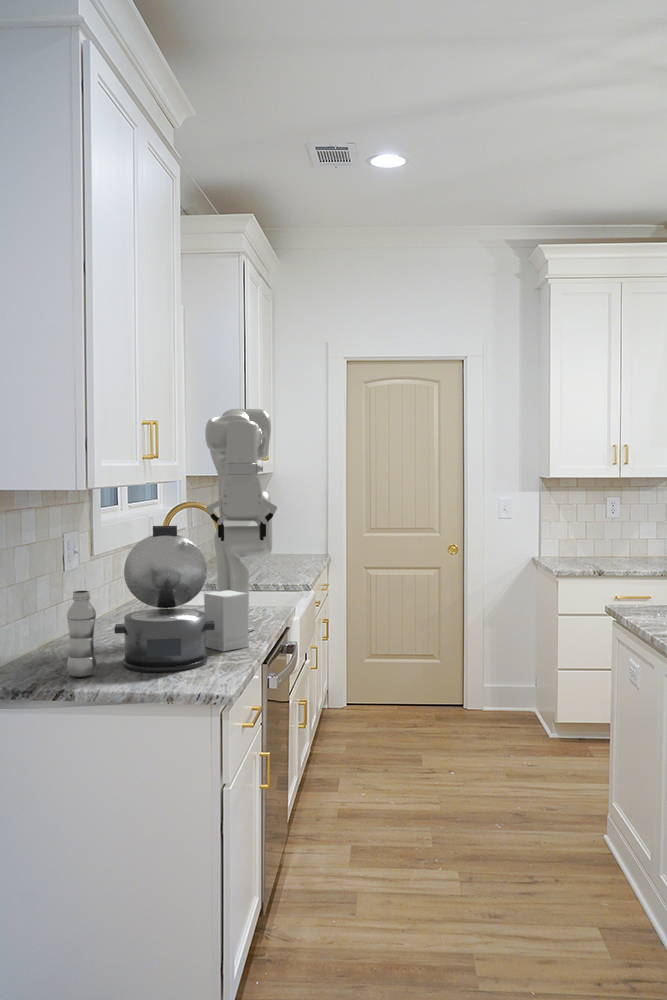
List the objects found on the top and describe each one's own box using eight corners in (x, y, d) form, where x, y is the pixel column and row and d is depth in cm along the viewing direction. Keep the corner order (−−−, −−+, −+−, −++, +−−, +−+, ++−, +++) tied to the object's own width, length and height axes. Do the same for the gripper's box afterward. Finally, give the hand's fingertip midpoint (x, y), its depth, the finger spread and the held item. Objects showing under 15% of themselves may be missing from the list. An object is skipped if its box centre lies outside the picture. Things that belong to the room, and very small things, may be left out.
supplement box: (250, 647, 217) (249, 592, 216) (223, 652, 211) (223, 596, 210) (230, 642, 223) (229, 589, 223) (203, 647, 217) (203, 592, 216)
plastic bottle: (74, 672, 190) (72, 589, 189) (101, 673, 189) (100, 589, 188) (62, 679, 183) (60, 593, 183) (90, 680, 183) (89, 594, 182)
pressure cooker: (119, 654, 208) (119, 608, 208) (213, 650, 213) (213, 605, 212) (111, 675, 187) (110, 624, 186) (215, 670, 191) (215, 620, 191)
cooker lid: (125, 609, 207) (126, 602, 210) (206, 606, 211) (206, 600, 214) (122, 528, 198) (123, 522, 202) (206, 527, 202) (206, 521, 205)
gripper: (275, 470, 199) (275, 538, 200) (205, 470, 196) (206, 539, 197) (278, 470, 192) (278, 541, 193) (206, 470, 189) (207, 542, 189)
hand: (242, 540), depth 195 cm, fingers open, 9 cm apart
